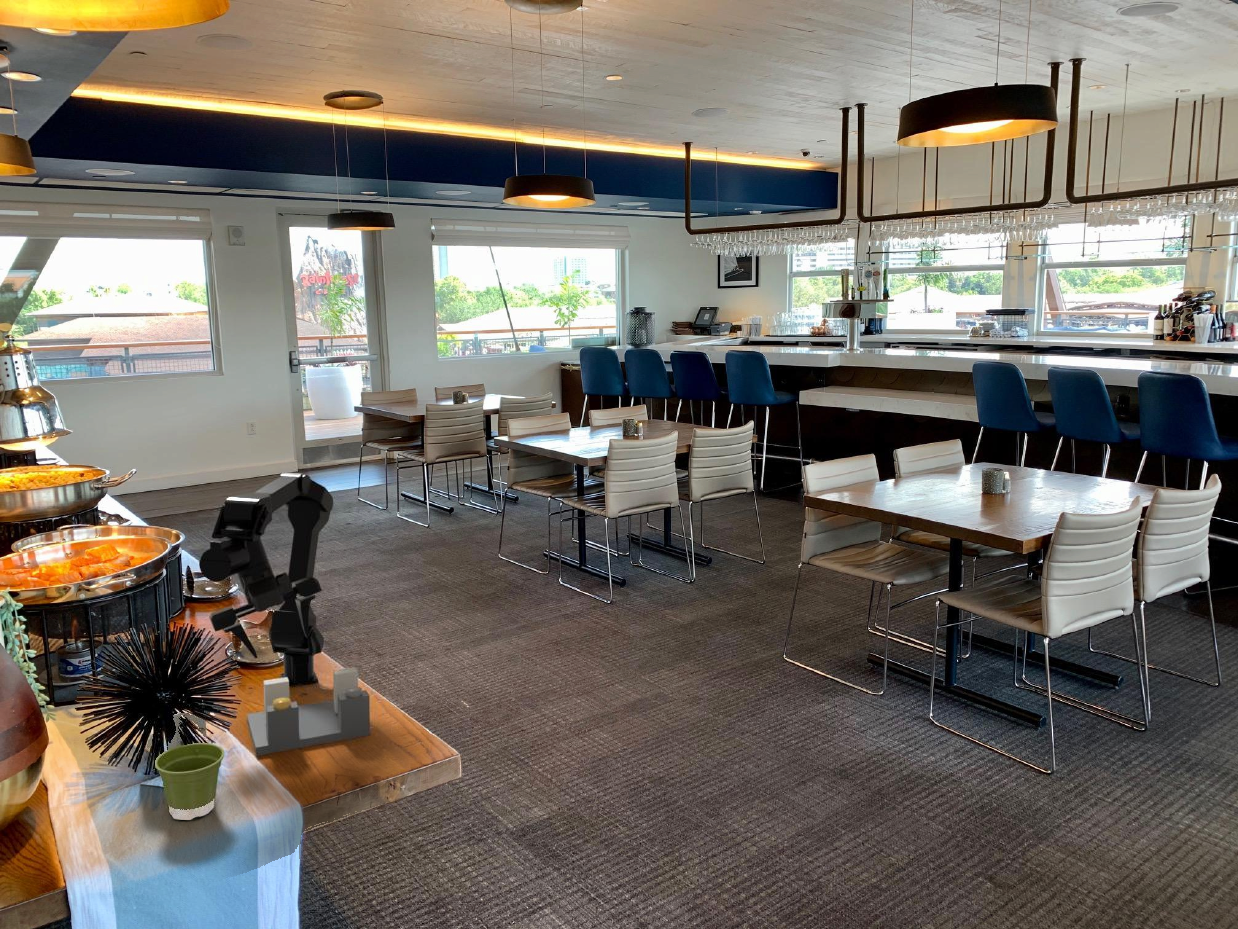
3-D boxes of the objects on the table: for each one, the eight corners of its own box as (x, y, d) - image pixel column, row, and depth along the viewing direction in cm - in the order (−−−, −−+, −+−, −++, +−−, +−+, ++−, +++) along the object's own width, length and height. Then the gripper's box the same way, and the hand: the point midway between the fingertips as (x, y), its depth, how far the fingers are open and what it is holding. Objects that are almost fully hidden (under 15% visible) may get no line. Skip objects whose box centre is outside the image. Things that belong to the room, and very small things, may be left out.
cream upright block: (334, 709, 169) (333, 670, 167) (356, 705, 170) (355, 667, 169) (336, 713, 167) (335, 674, 166) (358, 710, 169) (357, 671, 167)
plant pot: (180, 792, 142) (177, 740, 141) (238, 797, 141) (236, 745, 140) (143, 825, 133) (140, 770, 132) (205, 831, 132) (202, 775, 131)
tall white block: (264, 721, 163) (263, 680, 162) (288, 717, 165) (287, 677, 164) (266, 725, 161) (264, 685, 160) (290, 721, 163) (288, 681, 162)
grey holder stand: (247, 722, 167) (245, 677, 165) (353, 704, 175) (352, 662, 174) (256, 756, 154) (254, 708, 153) (370, 735, 163) (369, 690, 162)
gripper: (200, 588, 151) (233, 676, 153) (311, 548, 160) (341, 631, 161) (196, 584, 161) (227, 666, 163) (301, 547, 170) (329, 625, 171)
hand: (282, 647), depth 164 cm, fingers open, 9 cm apart
